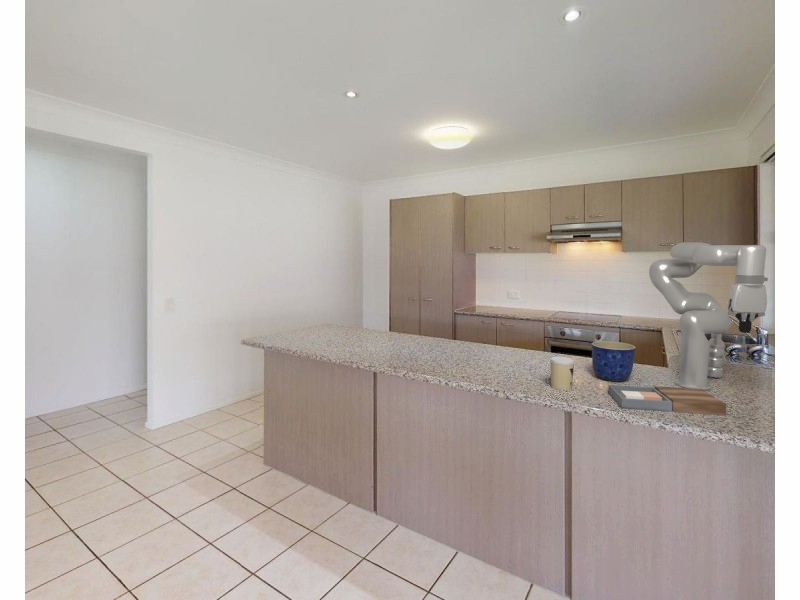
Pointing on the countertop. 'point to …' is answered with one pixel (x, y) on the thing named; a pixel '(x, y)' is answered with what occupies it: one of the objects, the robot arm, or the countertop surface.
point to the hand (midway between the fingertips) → (744, 332)
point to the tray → (639, 403)
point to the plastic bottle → (715, 355)
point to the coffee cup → (561, 372)
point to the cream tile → (631, 395)
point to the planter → (612, 360)
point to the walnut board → (693, 400)
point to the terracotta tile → (650, 396)
